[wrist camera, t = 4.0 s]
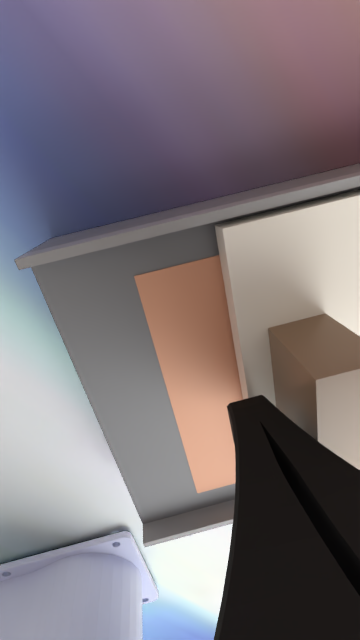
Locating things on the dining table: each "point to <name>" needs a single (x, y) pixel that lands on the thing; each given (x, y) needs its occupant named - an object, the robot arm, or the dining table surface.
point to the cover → (299, 314)
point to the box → (163, 345)
